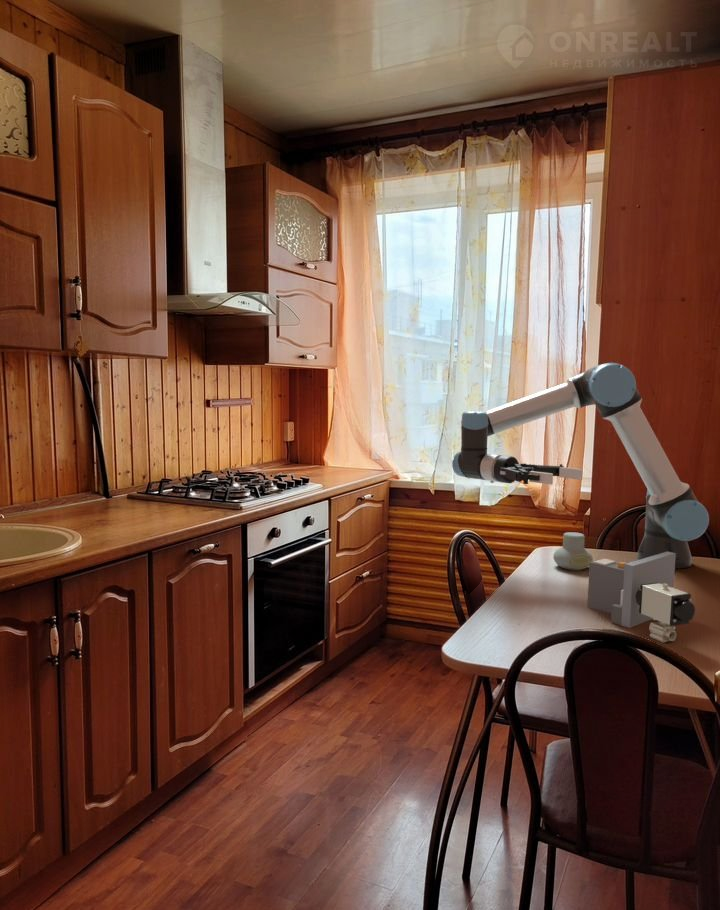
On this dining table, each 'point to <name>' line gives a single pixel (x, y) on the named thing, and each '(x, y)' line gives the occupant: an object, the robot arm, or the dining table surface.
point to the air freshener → (573, 552)
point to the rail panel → (634, 576)
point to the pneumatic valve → (664, 609)
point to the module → (605, 584)
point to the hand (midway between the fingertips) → (567, 476)
